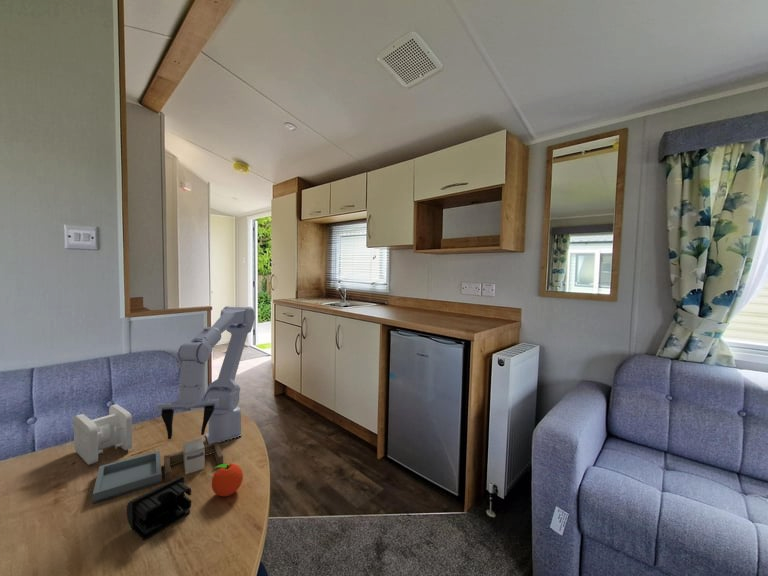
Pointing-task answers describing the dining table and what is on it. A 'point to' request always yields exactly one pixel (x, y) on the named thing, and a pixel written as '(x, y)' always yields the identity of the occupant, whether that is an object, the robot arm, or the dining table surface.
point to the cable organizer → (102, 433)
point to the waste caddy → (193, 455)
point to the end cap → (159, 508)
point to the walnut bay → (178, 458)
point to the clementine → (227, 479)
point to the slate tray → (127, 476)
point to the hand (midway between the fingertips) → (186, 435)
